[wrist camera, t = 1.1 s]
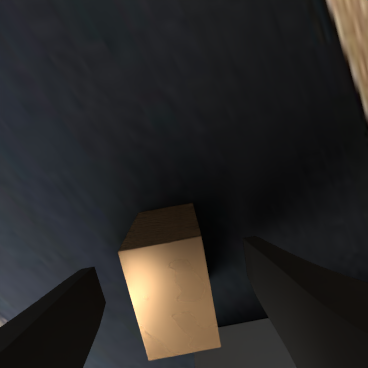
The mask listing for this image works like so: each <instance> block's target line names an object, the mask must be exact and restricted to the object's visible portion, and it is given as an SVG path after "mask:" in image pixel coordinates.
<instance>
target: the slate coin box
mask: <svg viewBox="0 0 368 368" xmlns="http://www.w3.org/2000/svg"><path fill="white" fill-rule="evenodd" d="M218 332H219V338H220V344H221V347H218V348H213V349H208V350H202V351H197V352H194V360H195V368H296V366H295V364H294V362H293V360H292V358H291V356H290V354H289V352H288V350H287V348H286V347H285V345H284V343H283V341H282V340H281V338H280V336H279V335H278V333H277V331H276V329H275V328H274V326H273V324H272V322H271V321H270V319H269V318H267V319H261V320H256V321H251V322H245V323H240V324H235V325H229V326H224V327H219V328H218Z"/></svg>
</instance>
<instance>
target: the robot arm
mask: <svg viewBox="0 0 368 368" xmlns="http://www.w3.org/2000/svg"><path fill="white" fill-rule="evenodd" d="M243 245H244V253H245V261H246V268H247V276H248V278H249V280H250V283H251V285H252V287H253V290H254V292H255V294H256V296H257V298H258V300H259V302H260V303H261V305H262V307H263V309H264V310H265V312H266V314H267V316H268V317H269V319H270V321H271V322H272V324H273V326H274V328H275V329H276V331H277V333H278V335H279V336H280V338H281V340H282V341H283V343H284V345H285V347H286V348H287V350H288V352H289V354H290V356H291V358H292V360H293V362H294V364H295V366H296V368H368V283H367V282H363V281H360V280H357V279H354V278H351V277H348V276H345V275H342V274H339V273H337V272H334V271H331V270H328V269H326V268H323V267H320V266H318V265H316V264H313V263H311V262H309V261H306V260H304V259H302V258H299V257H297V256H295V255H293V254H291V253H289V252H287V251H285V250H283V249H281V248H279V247H277V246H275V245H273V244H271V243H269V242H267V241H265V240H263V239H261V238H259V237H256V236H253V237H247V238H243ZM105 304H106V302H105V298H104V295H103V292H102V289H101V286H100V283H99V280H98V277H97V273H96V270H95V267H90V268H84V269H81V270H79V271H78V272H76V273H75V274H73V275H72V276H70V277H69V278H67V279H66V280H65V281H63V282H62V283H61V284H59V285H58V286H57V287H55V288H54V289H53V290H51V291H50V292H49V293H47V294H46V295H45V296H43V297H42V298H41V299H39V300H38V301H37V302H35V303H34V304H33V305H31V306H30V307H28V308H27V309H26V310H24V311H23V312H21V313H20V314H19V315H17V316H16V317H14V318H13V319H12V320H10V321H9V322H7V323H6V324H4V325H3V326H1V327H0V368H83V366H84V364H85V361H86V359H87V356H88V354H89V352H90V349H91V347H92V344H93V342H94V339H95V336H96V334H97V331H98V329H99V326H100V323H101V319H102V316H103V312H104V308H105Z"/></svg>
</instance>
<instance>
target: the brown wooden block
mask: <svg viewBox="0 0 368 368" xmlns="http://www.w3.org/2000/svg"><path fill="white" fill-rule="evenodd" d="M118 254H119V257H120V261H121V264H122V268H123V271H124V275H125V278H126V282H127V286H128V289H129V293H130V296H131V300H132V303H133V307H134V310H135V314H136V317H137V321H138V324H139V328H140V331H141V335H142V338H143V342H144V345H145V349H146V352H147V356H148V359H149V360H154V359H160V358H165V357H170V356H176V355H181V354H186V353H192V352H197V351H202V350H208V349H213V348H218V347H221V344H220V338H219V332H218V327H217V321H216V316H215V310H214V304H213V299H212V293H211V288H210V282H209V276H208V271H207V265H206V260H205V254H204V248H203V243H202V237H201V233H200V229H199V226H198V222H197V218H196V214H195V211H194V207H193V203H188V204H183V205H177V206H172V207H167V208H161V209H156V210H151V211H145V212H140V213H138V215H137V217H136V219H135V221H134V222H133V224H132V226H131V228H130V230H129V232H128V234H127V236H126V238H125V240H124V242H123V243H122V245H121V247H120V249H119V251H118Z"/></svg>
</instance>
